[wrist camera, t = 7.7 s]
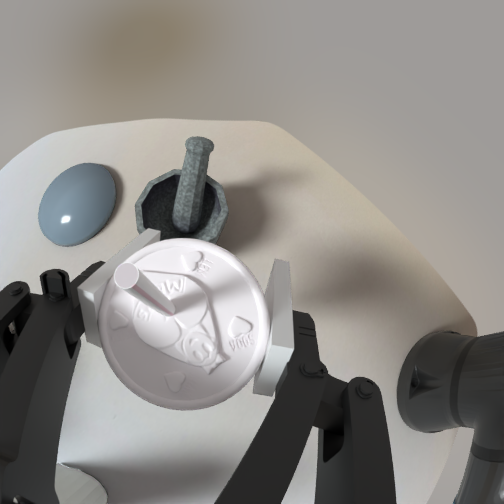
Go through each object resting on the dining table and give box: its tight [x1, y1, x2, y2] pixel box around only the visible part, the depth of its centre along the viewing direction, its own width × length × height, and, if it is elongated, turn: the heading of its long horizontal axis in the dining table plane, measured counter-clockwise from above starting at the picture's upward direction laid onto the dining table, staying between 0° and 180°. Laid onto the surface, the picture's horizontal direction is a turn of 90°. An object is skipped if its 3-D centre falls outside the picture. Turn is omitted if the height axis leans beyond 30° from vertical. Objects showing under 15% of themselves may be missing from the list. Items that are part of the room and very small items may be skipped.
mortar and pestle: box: [135, 137, 229, 245], centre depth 28 cm, size 11×9×12 cm
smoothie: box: [98, 238, 270, 410], centre depth 11 cm, size 6×6×14 cm
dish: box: [38, 163, 116, 247], centre depth 32 cm, size 13×13×1 cm
